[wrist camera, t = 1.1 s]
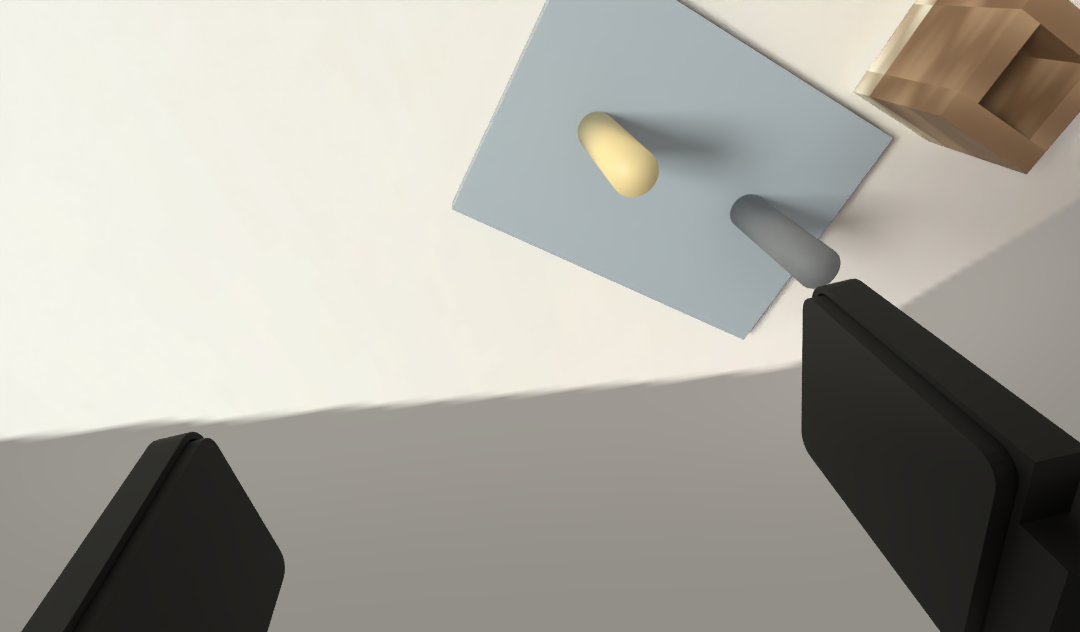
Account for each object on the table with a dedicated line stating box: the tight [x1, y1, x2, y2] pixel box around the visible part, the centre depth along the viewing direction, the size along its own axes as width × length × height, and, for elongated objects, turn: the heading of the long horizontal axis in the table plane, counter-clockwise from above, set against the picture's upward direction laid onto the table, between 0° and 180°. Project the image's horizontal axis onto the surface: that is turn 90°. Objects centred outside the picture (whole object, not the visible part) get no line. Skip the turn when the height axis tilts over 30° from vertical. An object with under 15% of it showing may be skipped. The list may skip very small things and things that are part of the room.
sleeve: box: [853, 0, 1080, 174], centre depth 30 cm, size 6×6×7 cm
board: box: [452, 0, 893, 340], centre depth 30 cm, size 14×20×9 cm
